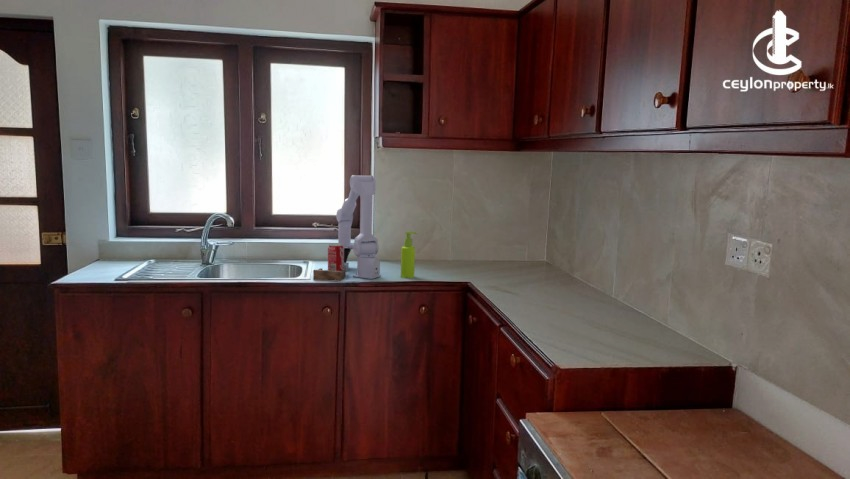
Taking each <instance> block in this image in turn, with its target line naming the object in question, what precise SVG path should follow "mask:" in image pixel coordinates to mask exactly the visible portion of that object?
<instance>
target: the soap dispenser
mask: <svg viewBox="0 0 850 479" xmlns="http://www.w3.org/2000/svg"><path fill="white" fill-rule="evenodd" d="M418 233H419V232H416V231H412V230H411V231H405V232H404V234H406V238H404V245H403V246H401V248H400V249H401V250H400V251H401V254H400V260H401V261H400V277H401V278H403V279H413V278H415V266H416V265H415V263H416V262H415V260H416V256H415V255H416V247H415V246H413V239H412V238H411V234H414V235H415V234H416V235H418Z"/></svg>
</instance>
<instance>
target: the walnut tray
mask: <svg viewBox="0 0 850 479" xmlns="http://www.w3.org/2000/svg"><path fill="white" fill-rule="evenodd" d="M312 272H313V273H312V274H313V275H312V278H313V279H312V280H316V281H331V282H332V281H336V282H341V281H342V280H343V279H344V278H345V277H346V272H347V271H346V270H342V271H330V270H328V269H327V270H326V269H323V267H322V268H318V269H313V271H312Z"/></svg>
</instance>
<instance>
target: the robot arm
mask: <svg viewBox="0 0 850 479" xmlns="http://www.w3.org/2000/svg"><path fill="white" fill-rule="evenodd" d="M376 186H377V185H376V179H375V177H374V175H372V174H370V175H359V174H358V175H355V174H352V175H351V176H350V178H349V187H350V191H349V194H348V198H345V199H344V201H343V203H342V206H341V208H339V209H338V210H336V215H335V216H336V218H335V219H336V221H337V222H338V225H337V226H338V232H337V233H338V234H337V235H338V240H337V241H338V242H337V244H343V247H344V263H348V258H349V255H350V253H351V251H352V250H353V254H354V255H355V257H357V258H356V261H357V266H356V267H357V268H356V272H357V273H356V274H353V275H352V276H353V277H355V278H360V279H361V278H362V279H366V280H367V279H369V280H373V279H376V278H379V277H381V276H382V275H381V261H380V259H379V258H378V257H376V256H377V255H378V253H379V249H380V248H379V247H380V246H379V244H378V237H377V236H375V235H374V234H373V233H372V232H373V231H372V227H373V226H372V225H373V199H374V198H373V197H374V195H375V194H376ZM359 198H360V211H359V212H360V218H359V221H360V222H359V234H358V235H356V236H355V237H354V242H353V244H351V243H352V242H351V241H352V240H351V237H352V236H351V234H352V233H351V230H352V224H353V220H354V214H353V213H354V212H355V209H356V207H357V200H358V199H359Z"/></svg>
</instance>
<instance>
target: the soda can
mask: <svg viewBox="0 0 850 479" xmlns="http://www.w3.org/2000/svg"><path fill="white" fill-rule="evenodd" d="M327 270H330V271H342V270H344V247H343V244H338V243H329V244H328V247H327Z"/></svg>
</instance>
